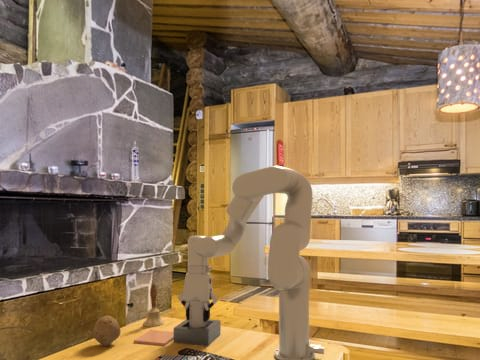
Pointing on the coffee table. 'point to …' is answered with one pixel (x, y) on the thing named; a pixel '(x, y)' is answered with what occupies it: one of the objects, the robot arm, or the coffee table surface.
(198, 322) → the energy drink can
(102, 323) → the natural sponge
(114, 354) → the coffee table surface
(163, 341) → the terracotta tile
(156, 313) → the hand bell
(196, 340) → the frame
